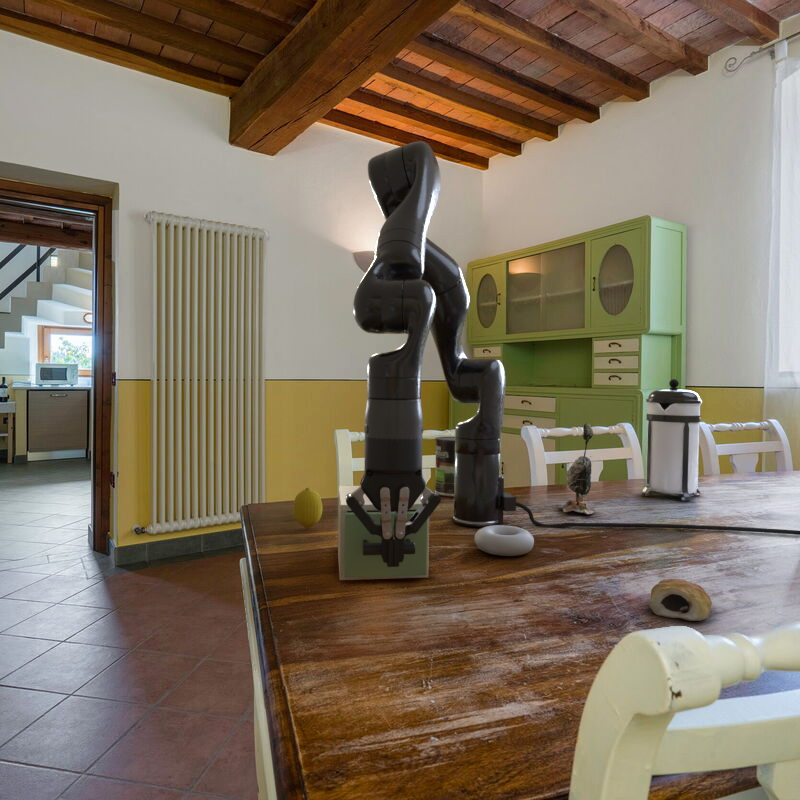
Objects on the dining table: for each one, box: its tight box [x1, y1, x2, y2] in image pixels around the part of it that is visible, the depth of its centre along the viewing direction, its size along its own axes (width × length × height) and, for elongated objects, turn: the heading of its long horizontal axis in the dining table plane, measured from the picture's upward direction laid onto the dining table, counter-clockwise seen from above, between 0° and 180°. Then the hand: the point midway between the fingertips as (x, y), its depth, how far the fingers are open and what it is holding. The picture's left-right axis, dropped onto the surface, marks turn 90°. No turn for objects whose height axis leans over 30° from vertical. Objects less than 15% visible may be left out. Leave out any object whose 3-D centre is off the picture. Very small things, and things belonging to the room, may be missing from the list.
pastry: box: [647, 578, 713, 622], centre depth 72 cm, size 9×7×4 cm
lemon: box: [292, 487, 323, 530], centre depth 108 cm, size 6×6×8 cm
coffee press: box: [641, 378, 703, 503], centre depth 146 cm, size 17×16×30 cm
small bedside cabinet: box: [337, 485, 430, 581], centre depth 89 cm, size 15×13×11 cm
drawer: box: [344, 510, 427, 578], centre depth 84 cm, size 18×12×9 cm, turn 7°
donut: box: [473, 524, 535, 557], centre depth 96 cm, size 10×4×10 cm
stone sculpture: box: [558, 422, 596, 515], centre depth 127 cm, size 8×11×20 cm
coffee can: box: [434, 436, 455, 498], centre depth 146 cm, size 10×10×14 cm
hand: (392, 565), depth 74 cm, fingers closed
